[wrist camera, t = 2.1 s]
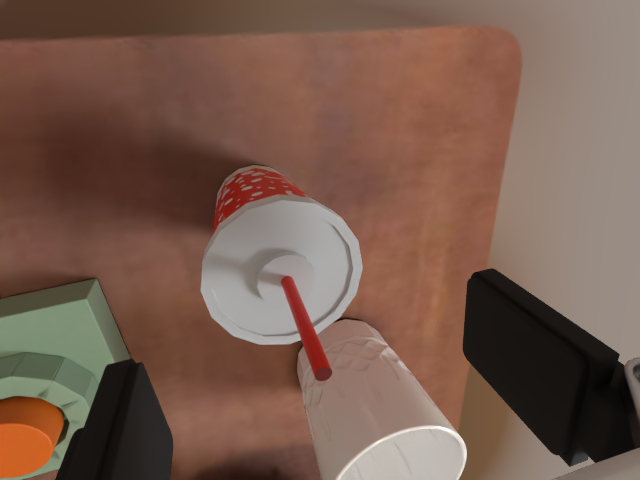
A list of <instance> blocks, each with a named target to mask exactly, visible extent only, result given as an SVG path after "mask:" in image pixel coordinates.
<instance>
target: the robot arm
mask: <svg viewBox="0 0 640 480" xmlns="http://www.w3.org/2000/svg"><path fill="white" fill-rule="evenodd" d="M463 352H464V355H465V357H466V359H467V360H468V361H469V362H470V363H471V364H472V366H473V367H474V368H475V369H476V370H477V371H478V372H479V373H480V374H481V375H482V377H483V378H484V379H485V380H486V381H487V382H488V383H489V384H490V385H491V386H492V388H493V389H494V390H495V391H496V392H497V393H498V394H499V395H500V397H502V399H503V400H504V401H505V402H506V403H507V404H508V405H509V407H510V408H511V409H512V410H513V411H514V412H515V413H516V414H517V415H518V416H519V417H520V419H521V420H522V421H523V422H524V423H525V424H526V425H527V426H528V428H529V429H530V430H531V431H532V432H533V433H534V434H535V435H536V436H537V438H538V439H539V440H540V441H541V442H542V443H543V444H544V445H545V446H546V447H547V449H548V450H549V451H550V452H551V453H553V454H555V455H559V456H560V457H561V458H562V459H563V460H564V461H565V462H566V463H567V464H568V465H569V466H573V465H575V464H578V463H581V462H583V461H586V460H588V457H590V458H591V459H592V460H593V461H594V462H595V464H592V465H590V466H586V467H584V468H581V469H578V470H576V471H573V472H571V473H568V474H565V475H563V476H560V477H558V478H555V479H552V480H640V358H634V359H632V360H629V361H628V362H627V363H626V365H625V366H624V365H623V364H622V363H620V362H619V361H618V358H619V354H618V353H617V352H616V351H614V350H613V349H611V348H610V347H608V346H607V345H605V344H604V343H603V342H601V341H600V340H598V339H596V338H595V337H594V336H592V335H591V334H589V333H588V332H586V331H585V330H583V329H582V328H580V327H579V326H578V325H576V324H574V323H573V322H572V321H570V320H569V319H567V318H566V317H564V316H563V315H561V314H560V313H558V312H557V311H555V310H554V309H553V308H551V307H550V306H548V305H547V304H545V303H544V302H542V301H541V300H539V299H538V298H536V297H535V296H534V295H532V294H531V293H529V292H527V291H526V290H525V289H523V288H522V287H520V286H519V285H517V284H516V283H514V282H513V281H511V280H510V279H509V278H507V277H506V276H504V275H503V274H501V273H500V272H498V271H497V270H495V269H487V270H483V271H479V272H475V273H473V274H472V276H471V279H469V280H468V283H467V295H466V309H465V322H464V336H463ZM172 454H173V438H172V434H171V431H170V429H169V426H168V424H167V421H166V419H165V416H164V414H163V411H162V409H161V406H160V404H159V401H158V399H157V396H156V394H155V391H154V389H153V387H152V384H151V382H150V379H149V377H148V374H147V372H146V369H145V367H144V365H143V363H142V362H139V363H135V361H134V360H133V359H128V360H124V361H120V362H116V363H112V364H108V365H107V366H106V367H105V369H104V372H103V375H102V378H101V380H100V383H99V386H98V389H97V392H96V394H95V397H94V400H93V403H92V406H91V408H90V411H89V414H88V417H87V420H86V422H85V425H84V427H83V428H80V429H77V430H76V431H75V432H74V434H73V436H72V438H71V440H70V442H69V445H68V447H67V450H66V453H65V455H64V458H63V461H62V463H61V466H60V468H59V471H58V474H57V476H56V479H55V480H170V474H171V464H172Z"/></svg>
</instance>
